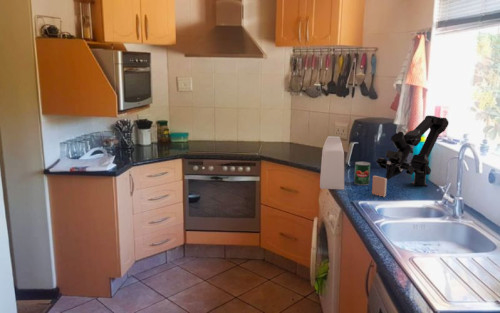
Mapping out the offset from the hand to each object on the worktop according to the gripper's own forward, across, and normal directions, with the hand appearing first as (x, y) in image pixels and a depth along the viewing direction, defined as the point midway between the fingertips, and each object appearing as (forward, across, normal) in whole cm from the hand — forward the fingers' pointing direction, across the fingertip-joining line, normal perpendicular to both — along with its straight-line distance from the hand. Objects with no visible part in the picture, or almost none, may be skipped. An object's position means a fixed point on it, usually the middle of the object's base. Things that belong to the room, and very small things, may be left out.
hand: (386, 179), depth 217 cm
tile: (+9, 0, +1) cm, 9 cm away
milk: (+13, -25, -3) cm, 29 cm away
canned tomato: (+1, -20, +9) cm, 22 cm away
